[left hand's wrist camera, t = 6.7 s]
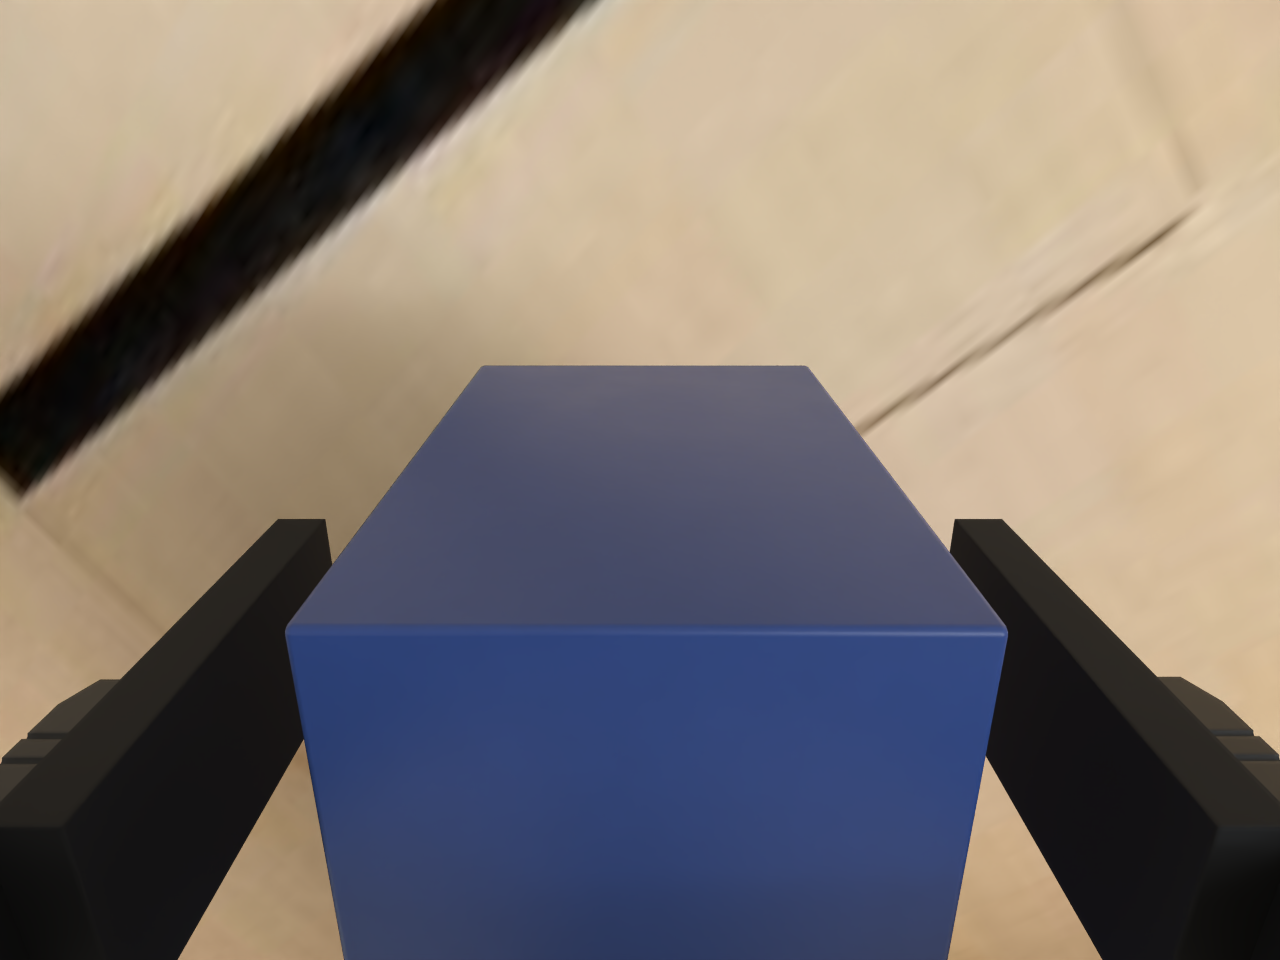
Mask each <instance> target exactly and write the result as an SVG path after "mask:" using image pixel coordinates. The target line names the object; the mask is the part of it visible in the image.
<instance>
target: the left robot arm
mask: <svg viewBox="0 0 1280 960" xmlns="http://www.w3.org/2000/svg"><path fill="white" fill-rule="evenodd" d="M950 554H951V555H952V556H953V557H954V559H955V560H956V561H957V563H958V564H959V565H960V567H961V568H962V569H963V571H964V572H965V573H966V574H967V576H968V577H969V578H970V580H971V581H972V582H973V584H974V585H975V586H976V588H977V589H978V590H979V591H980V593H981V594H982V595H983V597H984V598H985V599H986V601H987V602H988V603H989V605H990V606H991V607H992V608H993V610H994V611H995V612H996V614H997V615H998V616H999V618H1000V619H1001V620H1002V622H1003V623H1004V624H1005V625H1006V628H1007V631H1008V638H1007V644H1006V649H1005V654H1004V660H1003V665H1002V670H1001V676H1000V681H999V686H998V692H997V697H996V702H995V708H994V713H993V718H992V724H991V729H990V734H989V740H988V745H987V750H986V757H987V759H988V760H989V762H990V764H991V766H992V767H993V769H994V771H995V773H996V774H997V776H998V778H999V780H1000V781H1001V783H1002V785H1003V787H1004V788H1005V790H1006V792H1007V794H1008V795H1009V797H1010V799H1011V801H1012V802H1013V804H1014V806H1015V808H1016V809H1017V811H1018V813H1019V815H1020V816H1021V818H1022V820H1023V822H1024V823H1025V825H1026V827H1027V829H1028V830H1029V832H1030V834H1031V836H1032V837H1033V839H1034V841H1035V843H1036V844H1037V846H1038V848H1039V850H1040V851H1041V853H1042V855H1043V857H1044V858H1045V860H1046V862H1047V864H1048V865H1049V867H1050V869H1051V871H1052V872H1053V874H1054V876H1055V878H1056V879H1057V881H1058V883H1059V885H1060V886H1061V888H1062V890H1063V891H1064V893H1065V895H1066V897H1067V898H1068V900H1069V902H1070V904H1071V905H1072V907H1073V909H1074V911H1075V912H1076V914H1077V916H1078V918H1079V919H1080V921H1081V923H1082V925H1083V926H1084V928H1085V930H1086V932H1087V933H1088V935H1089V937H1090V939H1091V940H1092V942H1093V944H1094V946H1095V947H1096V949H1097V951H1098V953H1099V954H1100V956H1101V958H1102V960H1280V759H1279V754H1278V753H1277V752H1276V751H1274V750H1273V749H1272V748H1271V747H1270V746H1269V745H1268V744H1267V743H1266V742H1265V741H1264V740H1263V739H1262V738H1261V737H1260V736H1254V734H1253V730H1252V729H1251V728H1250V727H1249V726H1248V725H1247V724H1246V723H1245V722H1244V721H1243V720H1242V719H1241V718H1240V717H1238V716H1237V715H1236V714H1235V713H1234V712H1233V711H1232V710H1231V709H1230V708H1229V707H1228V706H1227V705H1226V704H1225V703H1224V702H1223V701H1221V700H1219V699H1217V698H1216V697H1214V696H1212V695H1211V694H1209V693H1207V692H1205V691H1204V690H1202V689H1200V688H1199V687H1197V686H1195V685H1193V684H1192V683H1190V682H1188V681H1187V680H1185V679H1183V678H1181V677H1157V676H1156V675H1155V674H1154V673H1153V672H1152V671H1151V670H1150V669H1149V668H1148V667H1147V666H1146V665H1145V664H1144V663H1143V662H1142V661H1141V660H1140V659H1139V658H1138V657H1137V656H1136V655H1135V654H1134V653H1133V652H1132V651H1131V650H1130V649H1129V648H1128V647H1127V646H1126V645H1125V644H1124V643H1123V642H1122V641H1121V640H1120V639H1119V638H1118V637H1117V636H1116V635H1115V634H1114V633H1113V632H1112V631H1111V630H1110V629H1109V628H1108V627H1107V626H1106V624H1105V623H1104V622H1103V621H1102V620H1101V619H1100V618H1099V617H1098V616H1097V615H1096V614H1095V613H1094V612H1093V611H1092V610H1091V609H1090V608H1089V607H1088V606H1087V605H1086V604H1085V603H1084V602H1083V601H1082V600H1081V599H1080V598H1079V597H1078V596H1077V595H1076V594H1075V593H1074V592H1073V591H1072V590H1071V589H1070V588H1069V587H1068V586H1067V585H1066V584H1065V583H1064V582H1063V581H1062V580H1061V579H1060V578H1059V577H1058V576H1057V575H1056V574H1055V573H1054V572H1053V571H1052V570H1051V569H1050V568H1049V567H1048V566H1047V564H1046V563H1045V562H1044V561H1043V560H1042V559H1041V558H1040V557H1039V556H1038V555H1037V554H1036V553H1035V552H1034V551H1033V550H1032V549H1031V548H1030V547H1029V546H1028V545H1027V544H1026V543H1025V542H1024V541H1023V540H1022V539H1021V538H1020V537H1019V536H1018V535H1017V534H1016V533H1015V532H1014V531H1013V530H1012V529H1011V528H1010V527H1009V526H1008V525H1007V524H1006V523H1005V522H1004V521H1003V520H1002V519H955V521H954V528H953V534H952V541H951V548H950ZM331 566H332V561H331V554H330V548H329V541H328V534H327V528H326V521H325V519H278V520H277V521H276V522H275V523H274V524H273V525H272V526H271V527H270V528H269V529H268V530H267V531H266V532H265V533H264V534H263V535H262V536H261V537H260V538H259V539H258V540H257V541H256V542H255V543H254V544H253V545H252V546H251V547H250V548H249V549H248V550H247V551H246V552H245V553H244V554H243V555H242V556H241V557H240V558H239V559H238V560H237V561H236V562H235V563H234V565H233V566H232V567H231V568H230V569H229V570H228V571H227V572H226V573H225V574H224V575H223V576H222V577H221V578H220V579H219V580H218V581H217V582H216V583H215V584H214V585H213V586H212V587H211V588H210V589H209V590H208V591H207V592H206V593H205V594H204V595H203V596H202V597H201V598H200V599H199V600H198V601H197V602H196V603H195V604H194V605H193V606H192V607H191V608H190V609H189V610H188V611H187V612H186V613H185V614H184V615H183V616H182V617H181V618H180V619H179V620H178V621H177V622H176V623H175V624H174V626H173V627H172V628H171V629H170V630H169V631H168V632H167V633H166V634H165V635H164V636H163V637H162V638H161V639H160V640H159V641H158V642H157V643H156V644H155V645H154V646H153V647H152V648H151V649H150V650H149V651H148V652H147V653H146V654H145V655H144V656H143V657H142V658H141V659H140V660H139V661H138V662H137V663H136V664H135V665H134V666H133V667H132V668H131V669H130V670H129V671H128V672H127V673H126V674H125V675H124V676H123V677H122V678H121V679H120V680H99V681H97V682H95V683H94V684H92V685H90V686H89V687H87V688H85V689H84V690H82V691H80V692H78V693H77V694H75V695H73V696H72V697H70V698H68V699H67V700H65V701H63V702H61V703H60V704H58V705H57V706H56V707H55V708H54V709H53V710H52V711H51V712H50V713H49V714H48V715H47V716H45V717H44V718H43V719H42V720H41V721H40V722H39V723H38V724H37V725H36V726H35V727H34V728H33V729H32V730H31V731H30V732H29V733H28V737H27V739H21V740H20V741H19V742H18V743H17V744H16V745H15V746H14V747H13V748H12V749H11V750H10V751H9V752H8V753H7V754H6V755H4V756H3V757H2V763H1V764H0V960H178V958H179V956H180V954H181V953H182V951H183V949H184V947H185V946H186V944H187V942H188V940H189V939H190V937H191V935H192V933H193V932H194V930H195V928H196V926H197V925H198V923H199V921H200V919H201V918H202V916H203V914H204V912H205V911H206V909H207V907H208V906H209V904H210V902H211V900H212V899H213V897H214V895H215V893H216V892H217V890H218V888H219V886H220V885H221V883H222V881H223V879H224V878H225V876H226V874H227V872H228V871H229V869H230V867H231V865H232V864H233V862H234V860H235V858H236V857H237V855H238V853H239V851H240V850H241V848H242V846H243V844H244V843H245V841H246V839H247V837H248V836H249V834H250V832H251V830H252V829H253V827H254V825H255V823H256V822H257V820H258V818H259V816H260V815H261V813H262V811H263V809H264V808H265V806H266V804H267V802H268V801H269V799H270V797H271V795H272V794H273V792H274V790H275V788H276V787H277V785H278V783H279V781H280V780H281V778H282V776H283V774H284V773H285V771H286V769H287V767H288V766H289V764H290V762H291V760H292V759H293V757H294V755H295V753H296V752H297V750H298V748H299V746H300V745H301V743H302V741H303V739H304V736H303V730H302V725H301V719H300V714H299V708H298V703H297V697H296V692H295V686H294V681H293V675H292V670H291V664H290V659H289V653H288V648H287V642H286V637H285V630H286V627H287V625H288V623H289V622H290V621H291V619H292V618H293V617H294V615H295V614H296V613H297V611H298V610H299V609H300V607H301V606H302V605H303V603H304V602H305V601H306V599H307V598H308V597H309V595H310V594H311V593H312V591H313V590H314V589H315V587H316V586H317V585H318V583H319V582H320V581H321V579H322V578H323V577H324V575H325V574H326V573H327V571H328V570H329V569H330V567H331Z"/></svg>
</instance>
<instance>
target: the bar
mask: <svg viewBox="0 0 1280 960" xmlns="http://www.w3.org/2000/svg"><path fill="white" fill-rule="evenodd" d="M285 637H286V642H287V648H288V653H289V659H290V664H291V670H292V675H293V681H294V686H295V692H296V697H297V703H298V708H299V714H300V719H301V725H302V730H303V736H304V741H305V747H306V752H307V758H308V763H309V769H310V774H311V780H312V785H313V791H314V796H315V802H316V807H317V813H318V818H319V824H320V829H321V835H322V841H323V846H324V852H325V857H326V863H327V868H328V874H329V879H330V885H331V890H332V896H333V901H334V907H335V912H336V918H337V923H338V929H339V934H340V940H341V945H342V951H343V956H344V960H947V959H948V954H949V948H950V943H951V938H952V932H953V927H954V922H955V916H956V911H957V905H958V900H959V895H960V889H961V884H962V879H963V873H964V868H965V863H966V857H967V852H968V847H969V841H970V836H971V831H972V825H973V820H974V815H975V809H976V804H977V799H978V793H979V788H980V783H981V777H982V772H983V766H984V761H985V756H986V750H987V745H988V740H989V734H990V729H991V724H992V718H993V713H994V708H995V702H996V697H997V692H998V686H999V681H1000V676H1001V670H1002V665H1003V660H1004V654H1005V649H1006V644H1007V638H1008V631H1007V628H1006V625H1005V624H1004V623H1003V622H1002V620H1001V619H1000V618H999V616H998V615H997V614H996V612H995V611H994V610H993V608H992V607H991V606H990V605H989V603H988V602H987V601H986V599H985V598H984V597H983V595H982V594H981V593H980V591H979V590H978V589H977V588H976V586H975V585H974V584H973V582H972V581H971V580H970V578H969V577H968V576H967V574H966V573H965V572H964V571H963V569H962V568H961V567H960V565H959V564H958V563H957V561H956V560H955V559H954V557H953V556H952V555H951V554H950V552H949V551H948V550H947V548H946V547H945V546H944V544H943V543H942V542H941V540H940V539H939V538H938V537H937V535H936V534H935V533H934V531H933V530H932V529H931V527H930V526H929V525H928V523H927V522H926V521H925V520H924V518H923V517H922V516H921V514H920V513H919V512H918V510H917V509H916V508H915V506H914V505H913V504H912V503H911V501H910V500H909V499H908V497H907V496H906V495H905V493H904V492H903V491H902V489H901V488H900V487H899V485H898V484H897V483H896V482H895V480H894V479H893V478H892V476H891V475H890V474H889V472H888V471H887V470H886V468H885V467H884V466H883V465H882V463H881V462H880V461H879V459H878V458H877V457H876V455H875V454H874V453H873V451H872V450H871V449H870V448H869V446H868V445H867V444H866V442H865V441H864V440H863V438H862V437H861V436H860V434H859V433H858V432H857V431H856V429H855V428H854V427H853V425H852V424H851V423H850V421H849V420H848V419H847V417H846V416H845V415H844V414H843V412H842V411H841V410H840V408H839V407H838V406H837V404H836V403H835V402H834V400H833V399H832V398H831V397H830V395H829V394H828V393H827V391H826V390H825V389H824V387H823V386H822V385H821V383H820V382H819V381H818V380H817V378H816V377H815V376H814V374H813V373H812V372H811V370H810V369H809V368H808V367H807V366H482V367H481V368H480V369H479V370H478V372H477V373H476V374H475V376H474V377H473V378H472V380H471V381H470V382H469V384H468V385H467V386H466V388H465V389H464V390H463V392H462V393H461V394H460V396H459V397H458V398H457V400H456V401H455V402H454V404H453V405H452V406H451V408H450V409H449V410H448V412H447V413H446V414H445V416H444V417H443V418H442V420H441V421H440V422H439V424H438V425H437V426H436V428H435V429H434V430H433V432H432V433H431V434H430V436H429V437H428V438H427V440H426V441H425V442H424V444H423V445H422V446H421V448H420V449H419V450H418V452H417V453H416V454H415V456H414V457H413V458H412V460H411V461H410V462H409V464H408V465H407V466H406V468H405V469H404V470H403V472H402V473H401V474H400V476H399V477H398V478H397V480H396V481H395V482H394V484H393V485H392V486H391V488H390V489H389V490H388V492H387V493H386V494H385V496H384V497H383V498H382V500H381V501H380V502H379V504H378V505H377V506H376V507H375V509H374V510H373V511H372V513H371V514H370V515H369V517H368V518H367V519H366V521H365V522H364V523H363V525H362V526H361V527H360V529H359V530H358V531H357V533H356V534H355V535H354V537H353V538H352V539H351V541H350V542H349V543H348V545H347V546H346V547H345V549H344V550H343V551H342V553H341V554H340V555H339V557H338V558H337V559H336V561H335V562H334V563H333V565H332V566H331V567H330V569H329V570H328V571H327V573H326V574H325V575H324V577H323V578H322V579H321V581H320V582H319V583H318V585H317V586H316V587H315V589H314V590H313V591H312V593H311V594H310V595H309V597H308V598H307V599H306V601H305V602H304V603H303V605H302V606H301V607H300V609H299V610H298V611H297V613H296V614H295V615H294V617H293V618H292V619H291V621H290V622H289V623H288V625H287V627H286V630H285Z"/></svg>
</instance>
